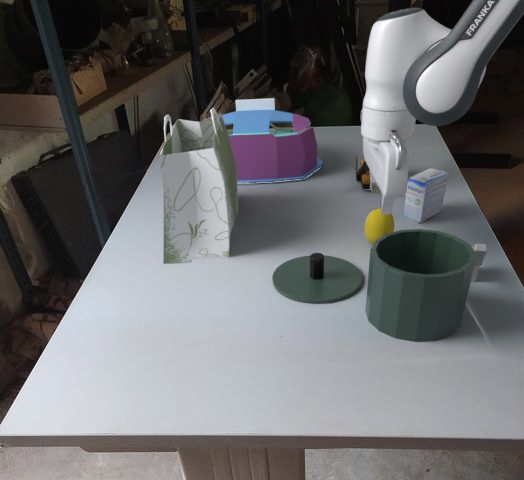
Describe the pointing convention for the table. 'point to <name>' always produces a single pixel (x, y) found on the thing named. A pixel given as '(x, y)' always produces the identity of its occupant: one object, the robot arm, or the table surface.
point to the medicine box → (425, 194)
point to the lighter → (478, 259)
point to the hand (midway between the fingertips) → (380, 202)
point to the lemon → (378, 225)
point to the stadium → (270, 143)
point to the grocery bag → (198, 189)
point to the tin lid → (317, 279)
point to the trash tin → (418, 284)
